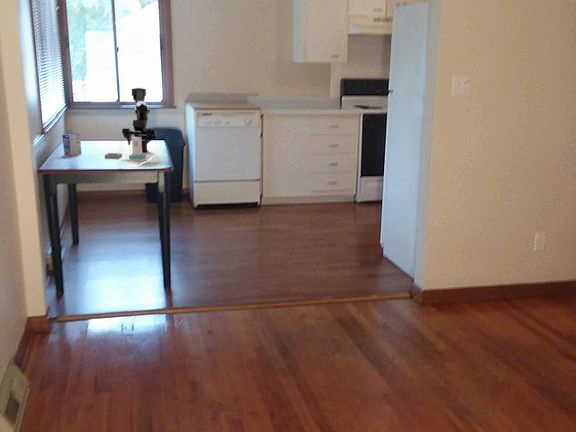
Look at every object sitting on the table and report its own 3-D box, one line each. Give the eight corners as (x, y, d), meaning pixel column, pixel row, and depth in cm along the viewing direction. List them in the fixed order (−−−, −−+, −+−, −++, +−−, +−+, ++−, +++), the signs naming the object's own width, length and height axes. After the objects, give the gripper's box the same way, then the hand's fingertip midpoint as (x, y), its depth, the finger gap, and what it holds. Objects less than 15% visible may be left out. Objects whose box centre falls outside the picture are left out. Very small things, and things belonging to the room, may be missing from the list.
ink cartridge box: (74, 153, 370) (72, 128, 367) (81, 153, 369) (80, 129, 365) (63, 155, 361) (61, 130, 358) (71, 156, 360) (69, 131, 356)
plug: (134, 157, 352) (133, 136, 349) (142, 157, 352) (141, 136, 349) (132, 158, 348) (131, 137, 345) (140, 159, 348) (139, 137, 345)
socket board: (101, 160, 345) (100, 155, 345) (108, 157, 357) (108, 152, 356) (143, 161, 344) (143, 156, 344) (149, 158, 356) (149, 153, 355)
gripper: (122, 114, 349) (116, 135, 341) (154, 114, 349) (150, 136, 341) (126, 126, 359) (121, 148, 351) (158, 127, 358) (154, 148, 350)
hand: (136, 145), depth 348 cm, fingers open, 9 cm apart
